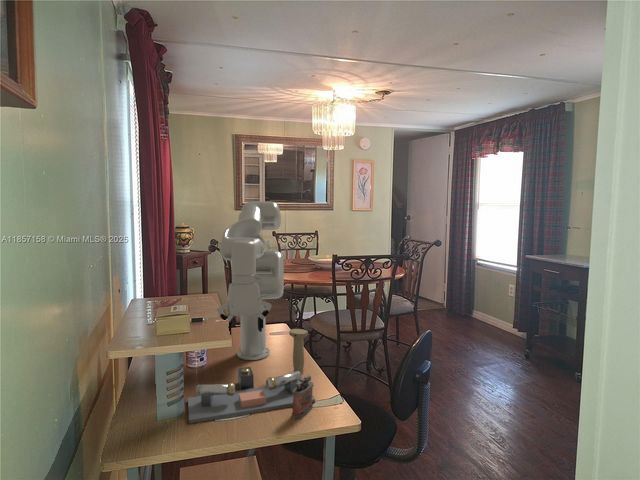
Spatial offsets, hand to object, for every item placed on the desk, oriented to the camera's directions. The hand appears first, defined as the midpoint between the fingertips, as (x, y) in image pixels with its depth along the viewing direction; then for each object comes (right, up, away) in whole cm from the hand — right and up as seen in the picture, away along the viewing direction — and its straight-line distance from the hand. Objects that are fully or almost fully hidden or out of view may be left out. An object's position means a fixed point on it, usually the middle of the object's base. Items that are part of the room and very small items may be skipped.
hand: (244, 332), depth 132 cm
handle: (+17, -17, +12) cm, 27 cm away
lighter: (+19, -20, -14) cm, 31 cm away
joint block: (0, -18, +2) cm, 18 cm away
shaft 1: (-6, -19, -11) cm, 23 cm away
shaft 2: (+13, -19, -4) cm, 23 cm away
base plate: (+4, -19, -8) cm, 21 cm away
